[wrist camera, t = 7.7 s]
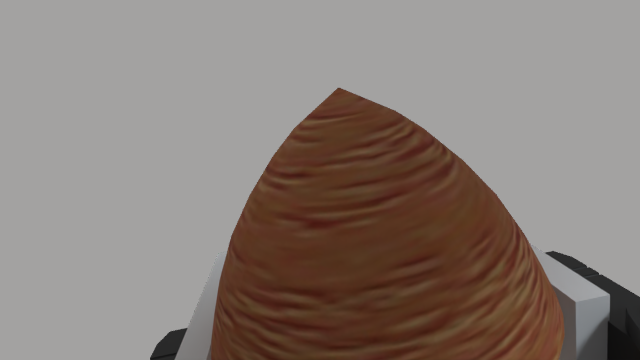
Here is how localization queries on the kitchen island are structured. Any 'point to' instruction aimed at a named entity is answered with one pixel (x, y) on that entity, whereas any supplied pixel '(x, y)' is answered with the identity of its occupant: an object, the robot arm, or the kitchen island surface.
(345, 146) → the mushroom
